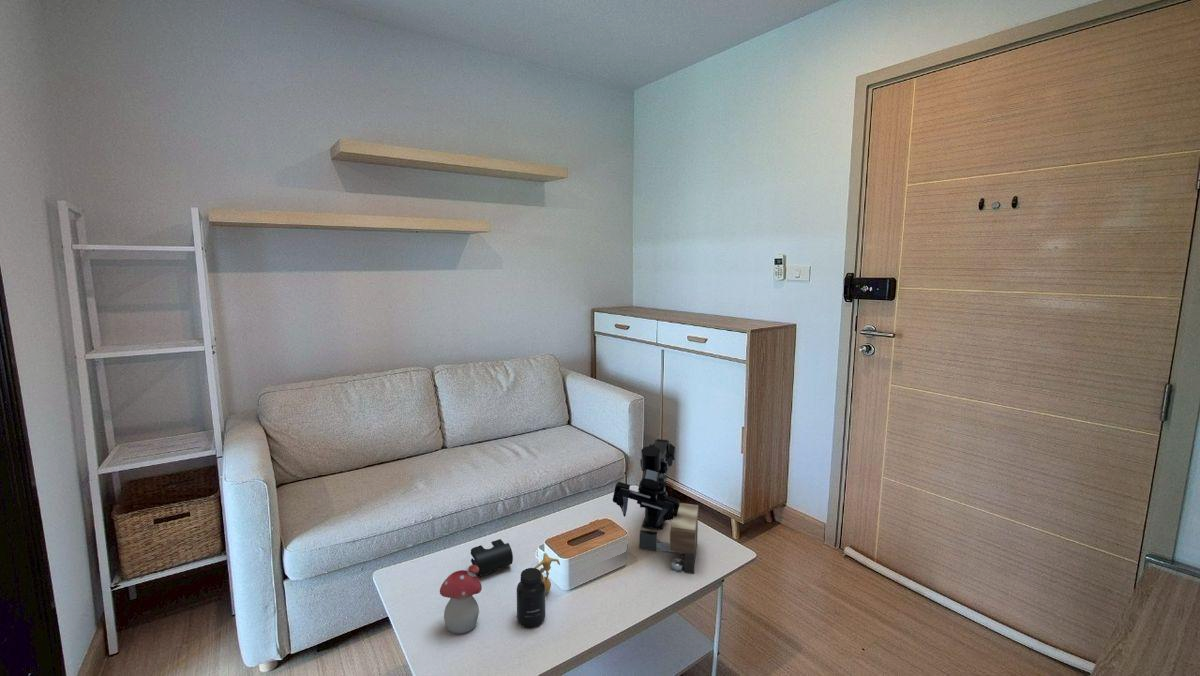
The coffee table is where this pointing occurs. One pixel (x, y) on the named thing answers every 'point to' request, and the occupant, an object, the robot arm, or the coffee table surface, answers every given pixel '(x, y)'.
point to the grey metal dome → (677, 565)
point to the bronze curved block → (685, 534)
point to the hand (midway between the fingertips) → (641, 520)
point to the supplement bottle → (530, 598)
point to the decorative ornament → (461, 600)
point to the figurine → (546, 567)
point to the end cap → (492, 557)
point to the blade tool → (653, 542)
